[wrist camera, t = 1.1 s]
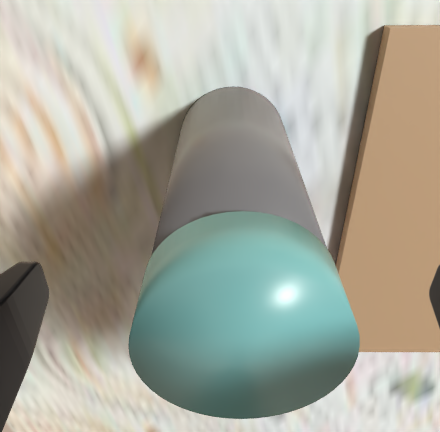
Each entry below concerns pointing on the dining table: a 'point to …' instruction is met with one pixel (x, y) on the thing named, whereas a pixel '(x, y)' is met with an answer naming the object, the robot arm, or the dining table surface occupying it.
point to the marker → (240, 273)
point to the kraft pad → (397, 198)
